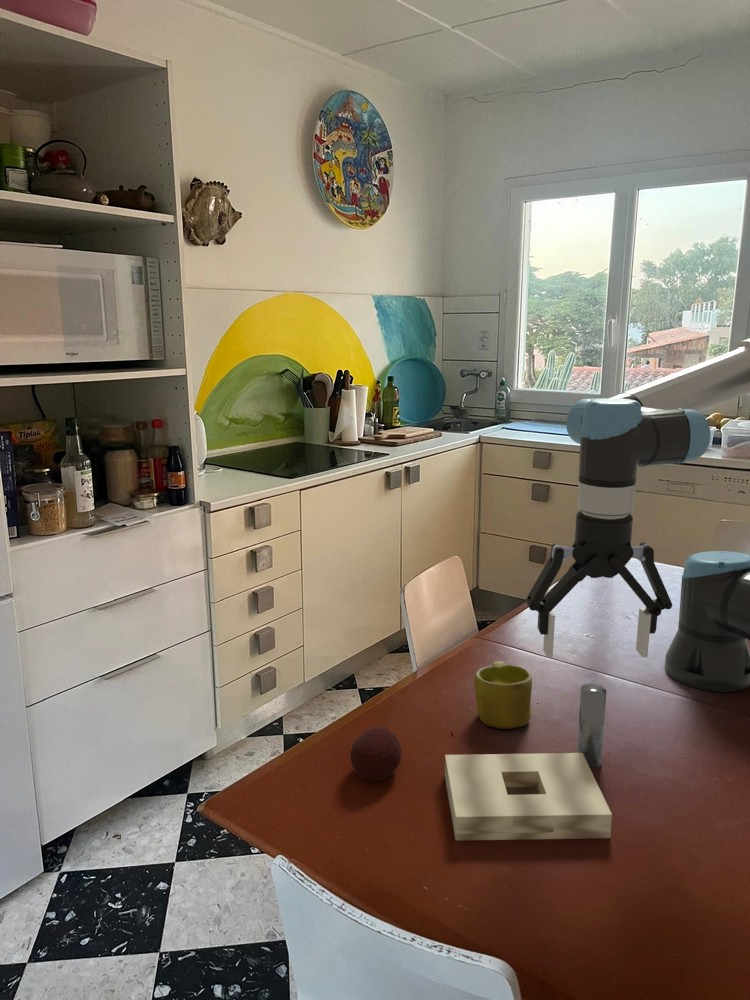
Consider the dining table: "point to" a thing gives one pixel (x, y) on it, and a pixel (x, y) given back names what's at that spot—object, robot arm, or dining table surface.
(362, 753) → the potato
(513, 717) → the mug
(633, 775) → the dining table surface
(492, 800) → the block
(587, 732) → the pin
